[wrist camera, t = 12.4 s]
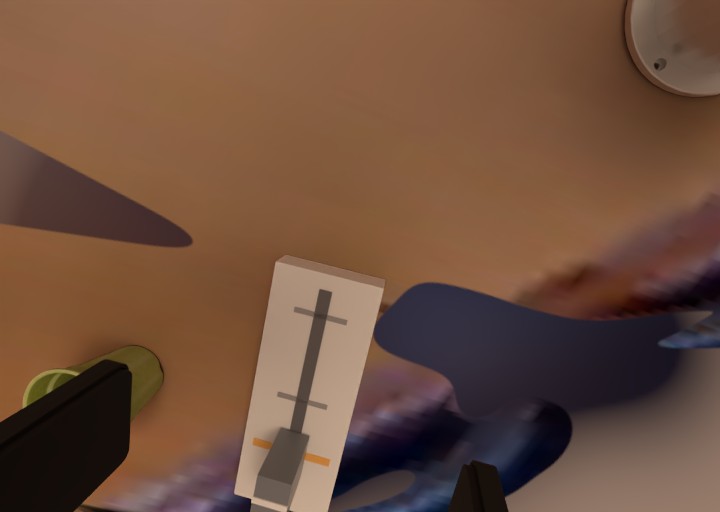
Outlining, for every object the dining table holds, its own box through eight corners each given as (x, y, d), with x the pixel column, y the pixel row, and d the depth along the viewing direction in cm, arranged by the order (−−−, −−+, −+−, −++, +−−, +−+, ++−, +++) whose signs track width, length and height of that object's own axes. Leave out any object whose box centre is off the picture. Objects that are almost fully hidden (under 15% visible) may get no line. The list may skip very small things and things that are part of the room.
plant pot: (87, 380, 42) (8, 431, 34) (116, 314, 40) (39, 350, 32) (159, 422, 42) (97, 483, 34) (191, 358, 40) (134, 406, 32)
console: (385, 279, 36) (384, 288, 33) (330, 496, 42) (325, 521, 39) (286, 254, 36) (275, 261, 33) (245, 471, 42) (233, 494, 39)
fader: (310, 436, 37) (292, 486, 31) (300, 477, 38) (281, 533, 32) (280, 427, 37) (256, 475, 31) (271, 469, 38) (247, 523, 32)
